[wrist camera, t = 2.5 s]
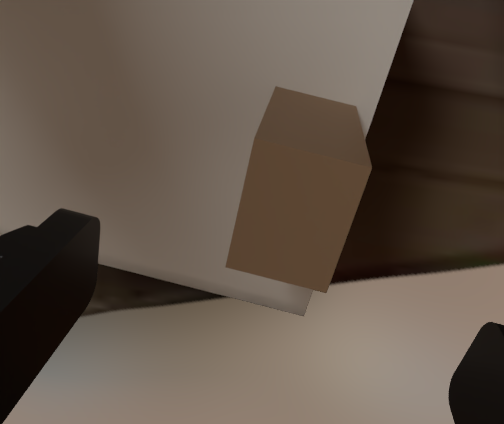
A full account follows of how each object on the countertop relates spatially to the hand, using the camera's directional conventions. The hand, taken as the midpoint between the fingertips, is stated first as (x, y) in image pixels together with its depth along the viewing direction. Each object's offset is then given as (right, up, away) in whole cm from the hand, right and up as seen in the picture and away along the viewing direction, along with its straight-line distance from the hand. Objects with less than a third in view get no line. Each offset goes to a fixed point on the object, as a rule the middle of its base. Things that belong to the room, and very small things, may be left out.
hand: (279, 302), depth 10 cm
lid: (-4, +7, +10) cm, 13 cm away
